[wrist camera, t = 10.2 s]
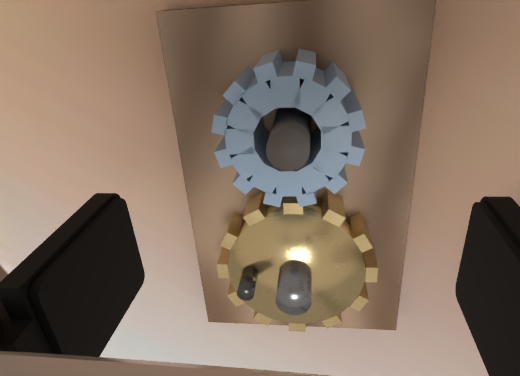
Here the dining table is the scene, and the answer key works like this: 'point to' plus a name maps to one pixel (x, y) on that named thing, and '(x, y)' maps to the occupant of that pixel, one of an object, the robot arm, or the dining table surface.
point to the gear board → (378, 88)
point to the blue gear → (285, 96)
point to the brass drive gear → (298, 260)
